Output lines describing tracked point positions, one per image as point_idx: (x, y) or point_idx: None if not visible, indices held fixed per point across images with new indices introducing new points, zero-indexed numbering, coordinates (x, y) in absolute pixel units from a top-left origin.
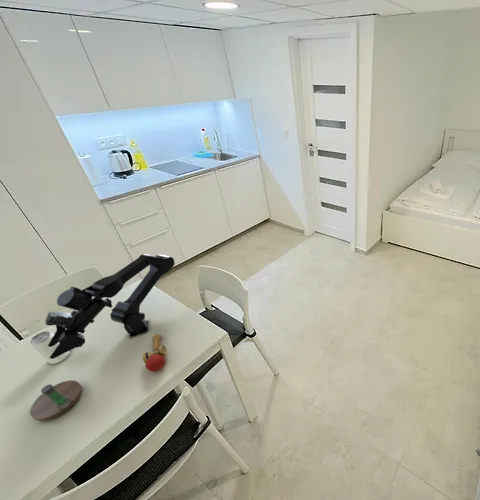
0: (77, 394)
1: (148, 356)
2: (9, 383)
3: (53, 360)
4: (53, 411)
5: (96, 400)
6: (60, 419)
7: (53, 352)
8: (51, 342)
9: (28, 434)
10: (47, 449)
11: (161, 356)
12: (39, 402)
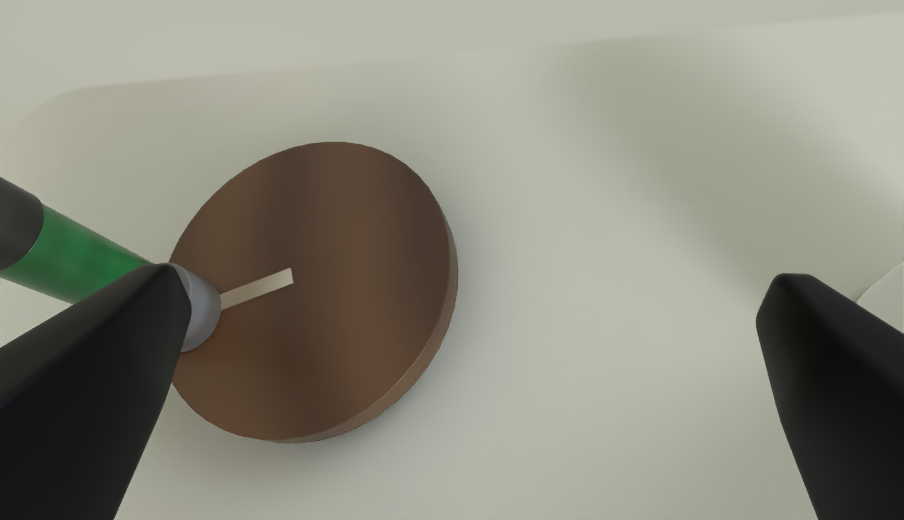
0: (188, 401)
1: None
2: (845, 35)
3: (868, 305)
4: (201, 251)
5: None
6: None
7: (14, 346)
8: (825, 349)
9: (256, 145)
10: (83, 213)
11: None
12: (365, 186)
